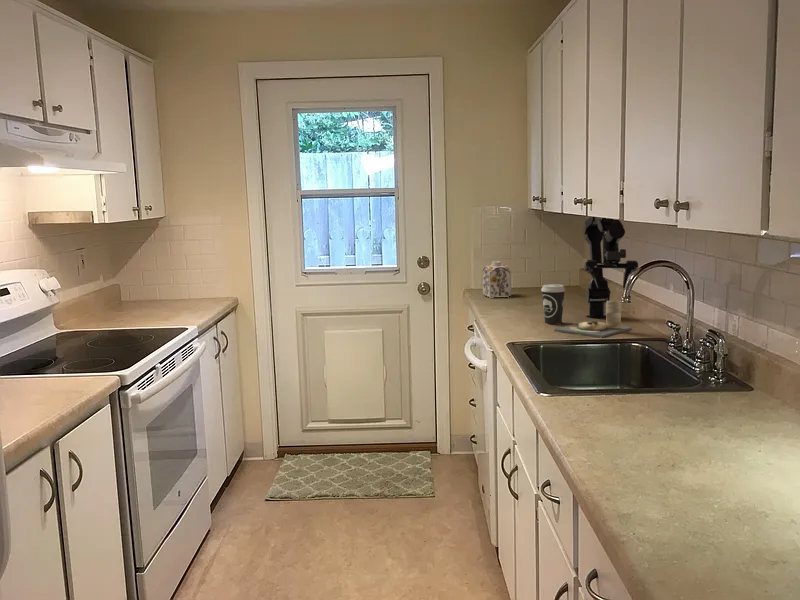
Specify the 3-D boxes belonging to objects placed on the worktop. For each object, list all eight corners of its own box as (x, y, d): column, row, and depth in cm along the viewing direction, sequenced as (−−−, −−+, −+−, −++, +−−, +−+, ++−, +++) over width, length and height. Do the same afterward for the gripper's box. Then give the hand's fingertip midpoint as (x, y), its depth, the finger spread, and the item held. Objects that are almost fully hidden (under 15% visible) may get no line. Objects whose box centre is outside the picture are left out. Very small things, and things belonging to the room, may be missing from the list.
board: (584, 323, 271) (584, 320, 271) (631, 329, 256) (631, 326, 256) (554, 331, 258) (554, 328, 257) (601, 337, 243) (601, 334, 243)
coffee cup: (566, 325, 269) (566, 286, 267) (541, 324, 271) (540, 287, 269) (565, 320, 278) (565, 283, 276) (541, 320, 280) (540, 284, 278)
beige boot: (580, 331, 249) (580, 304, 248) (577, 325, 261) (577, 299, 260) (623, 331, 246) (624, 304, 245) (618, 325, 259) (619, 299, 257)
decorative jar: (482, 295, 357) (481, 261, 355) (503, 294, 359) (503, 260, 357) (489, 298, 345) (489, 263, 343) (511, 297, 348) (511, 262, 345)
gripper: (587, 240, 252) (587, 281, 248) (640, 241, 250) (641, 282, 246) (584, 250, 263) (584, 289, 259) (634, 251, 260) (635, 290, 256)
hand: (611, 288), depth 255 cm, fingers open, 9 cm apart
